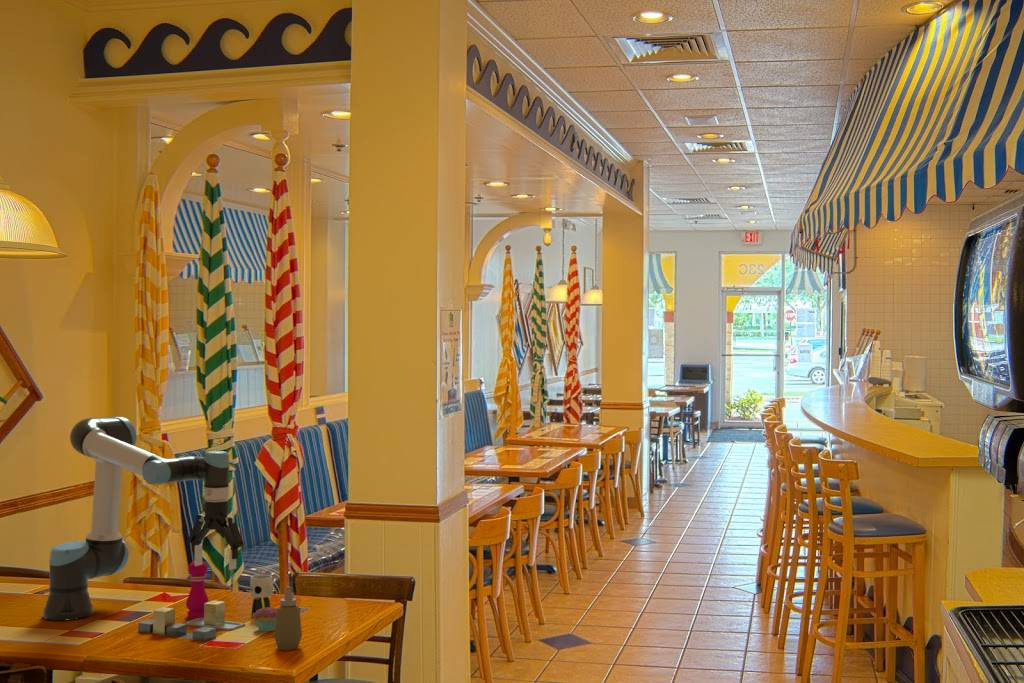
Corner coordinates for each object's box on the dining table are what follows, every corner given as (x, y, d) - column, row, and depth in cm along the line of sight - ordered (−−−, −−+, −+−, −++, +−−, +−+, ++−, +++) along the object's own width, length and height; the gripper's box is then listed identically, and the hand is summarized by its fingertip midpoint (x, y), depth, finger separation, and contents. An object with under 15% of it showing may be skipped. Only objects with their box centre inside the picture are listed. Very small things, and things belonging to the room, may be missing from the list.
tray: (184, 625, 337) (184, 622, 337) (199, 620, 343) (199, 617, 343) (230, 631, 330) (230, 628, 330) (244, 626, 336) (244, 623, 336)
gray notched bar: (138, 632, 328) (138, 622, 328) (149, 628, 333) (149, 619, 333) (204, 642, 317) (205, 632, 317) (216, 638, 322) (216, 628, 322)
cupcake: (256, 635, 326) (257, 596, 326) (250, 628, 334) (250, 590, 334) (284, 632, 330) (284, 593, 330) (277, 625, 338) (277, 588, 338)
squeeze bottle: (275, 644, 316) (276, 584, 316) (303, 644, 316) (304, 583, 316) (271, 652, 307) (272, 589, 308) (300, 651, 308) (300, 589, 308)
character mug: (241, 615, 350) (242, 576, 351) (258, 611, 356) (259, 572, 356) (263, 620, 344) (264, 580, 344) (280, 616, 350) (281, 577, 350)
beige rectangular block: (213, 622, 339) (213, 600, 339) (224, 623, 337) (225, 601, 338) (204, 625, 335) (204, 603, 335) (215, 627, 333) (215, 604, 333)
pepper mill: (202, 620, 344) (202, 558, 344) (181, 618, 345) (182, 557, 346) (212, 615, 351) (213, 554, 351) (192, 613, 352) (193, 553, 353)
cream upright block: (153, 633, 326) (153, 610, 326) (163, 629, 330) (163, 607, 330) (164, 634, 324) (164, 611, 324) (174, 631, 328) (175, 608, 328)
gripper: (177, 499, 339) (176, 565, 339) (240, 504, 329) (239, 573, 328) (193, 496, 346) (192, 561, 345) (255, 501, 336) (254, 568, 335)
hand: (215, 567), depth 337 cm, fingers open, 13 cm apart
